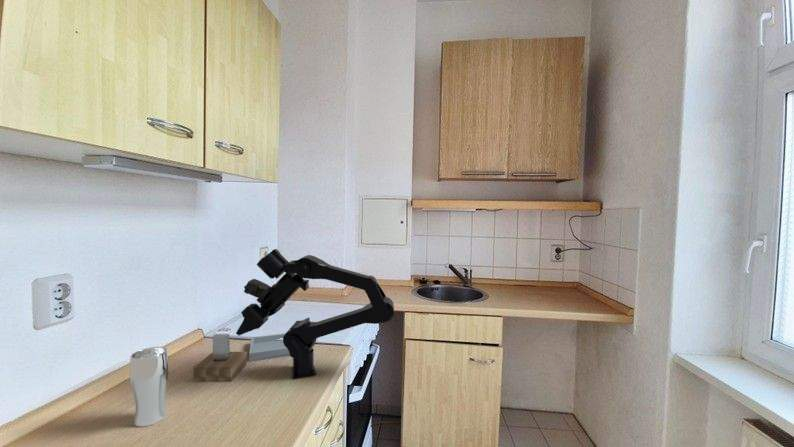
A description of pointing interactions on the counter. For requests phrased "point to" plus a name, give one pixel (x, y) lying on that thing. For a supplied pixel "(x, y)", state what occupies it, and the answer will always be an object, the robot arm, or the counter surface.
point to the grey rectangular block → (221, 347)
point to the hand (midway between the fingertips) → (244, 328)
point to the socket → (220, 368)
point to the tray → (267, 347)
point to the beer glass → (149, 384)
